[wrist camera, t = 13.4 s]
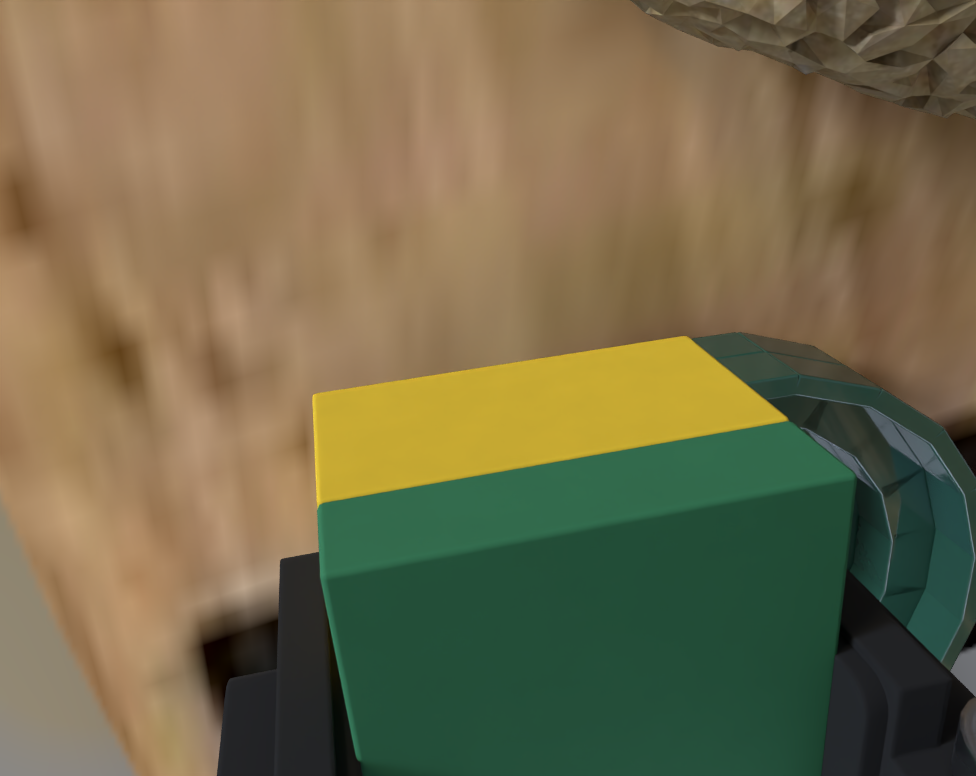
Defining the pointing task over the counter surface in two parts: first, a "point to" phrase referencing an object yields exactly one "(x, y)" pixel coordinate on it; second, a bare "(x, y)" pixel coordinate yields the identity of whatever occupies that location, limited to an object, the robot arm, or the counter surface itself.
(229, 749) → the robot arm
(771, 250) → the counter surface
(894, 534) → the bowl
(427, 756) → the small sponge
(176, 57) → the counter surface
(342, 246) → the counter surface
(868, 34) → the sponge
